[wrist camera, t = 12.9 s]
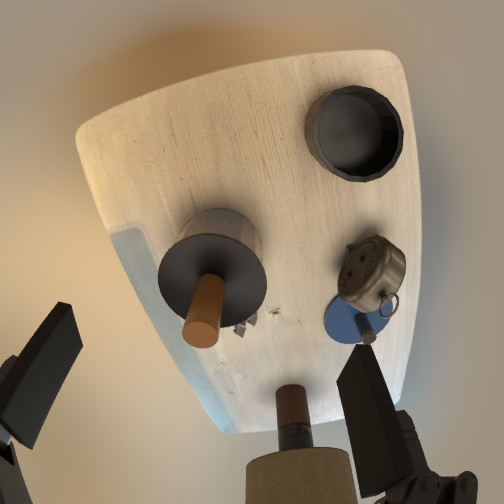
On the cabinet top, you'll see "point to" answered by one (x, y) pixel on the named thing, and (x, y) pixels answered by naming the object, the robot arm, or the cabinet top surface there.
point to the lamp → (299, 462)
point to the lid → (211, 285)
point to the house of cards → (250, 322)
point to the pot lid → (354, 322)
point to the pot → (224, 227)
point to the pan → (354, 133)
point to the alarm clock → (372, 275)
